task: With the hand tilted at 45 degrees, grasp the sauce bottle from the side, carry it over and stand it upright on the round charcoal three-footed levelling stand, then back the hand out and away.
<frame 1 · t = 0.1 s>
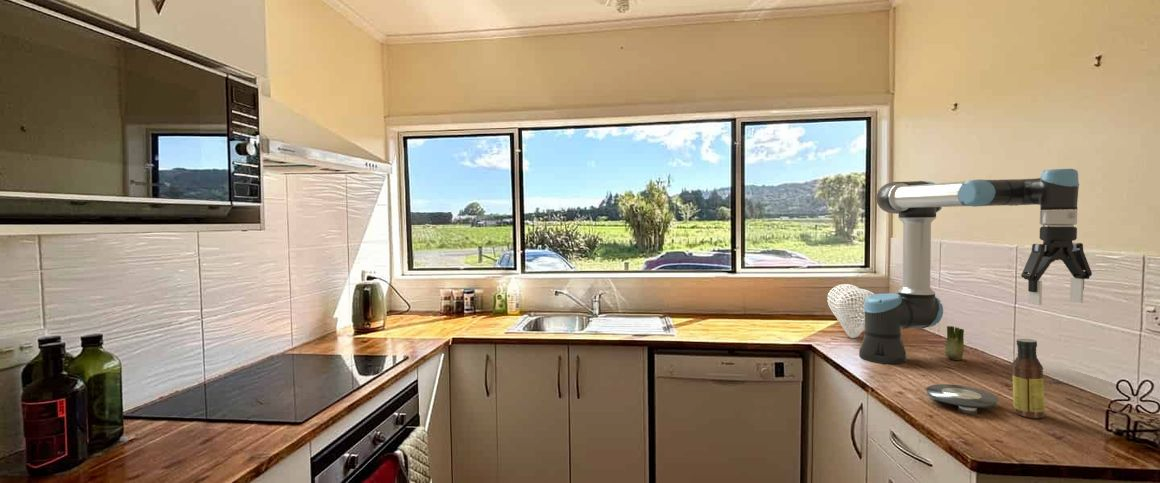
hand: (1055, 303, 142), 28 cm above the countertop, tool pointing down, fingers open, 13 cm apart
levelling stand: (961, 404, 144), on the countertop
fennel bulb: (953, 359, 187), on the countertop
heart: (852, 338, 222), on the countertop
sauce bottle: (1027, 415, 136), on the countertop
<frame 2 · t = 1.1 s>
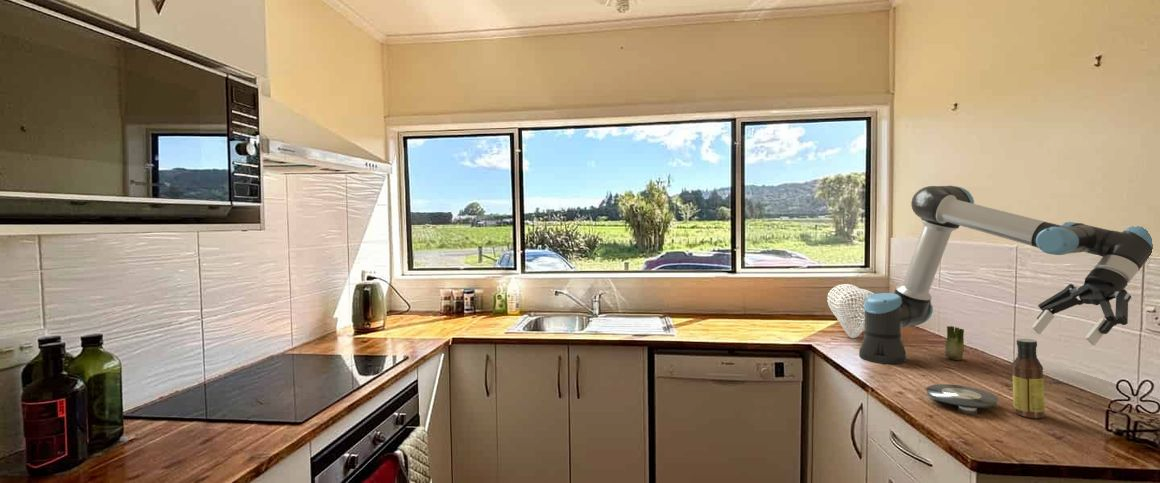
hand: (1061, 335, 136), 20 cm above the countertop, tool tilted 45°, fingers open, 13 cm apart
nothing on the countertop moved.
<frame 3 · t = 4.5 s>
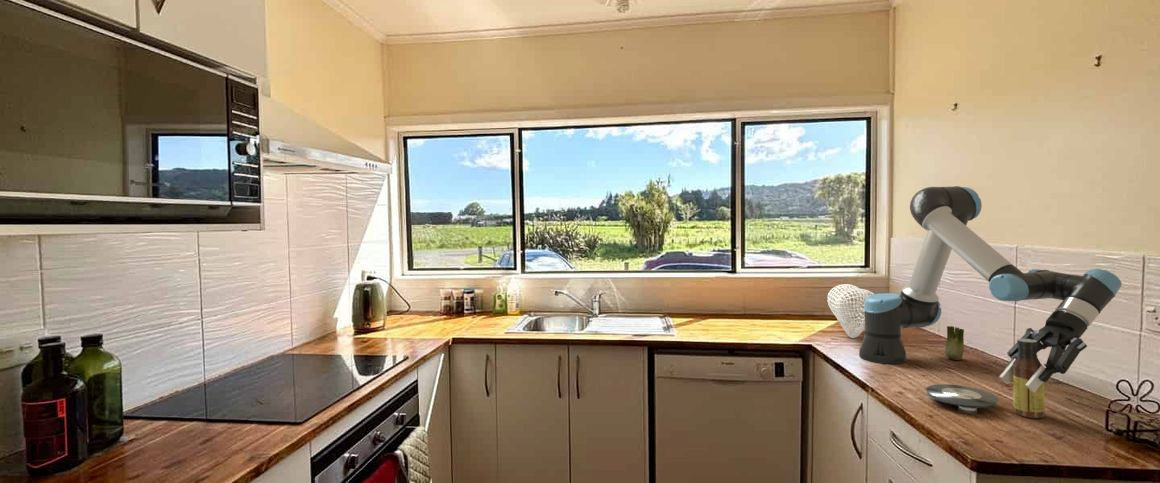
hand: (1016, 384, 135), 8 cm above the countertop, tool tilted 45°, fingers closed on sauce bottle, 6 cm apart
sauce bottle: (1027, 415, 136), on the countertop, touching gripper
everything else where it was.
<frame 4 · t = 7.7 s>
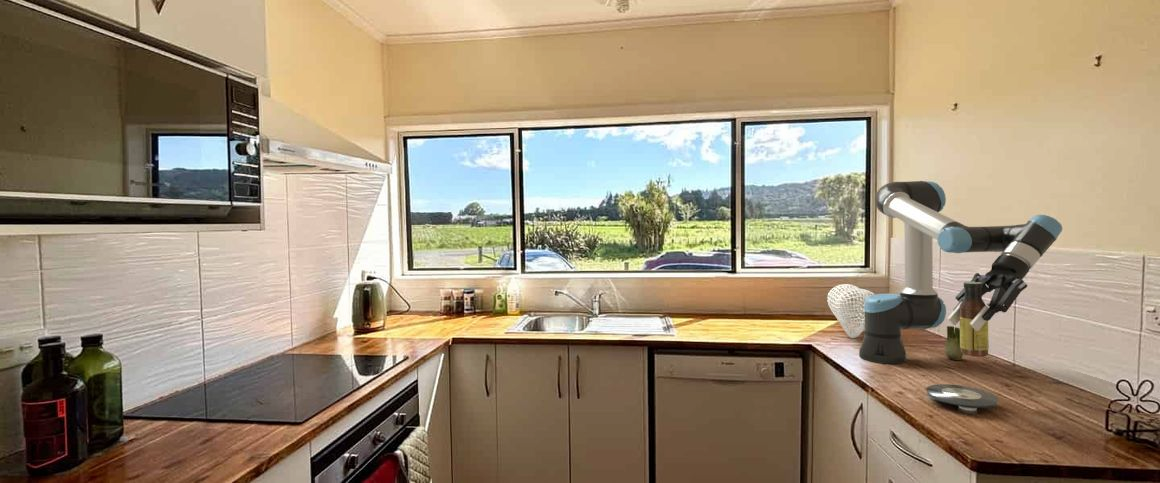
hand: (962, 324, 141), 23 cm above the countertop, tool tilted 45°, fingers closed on sauce bottle, 6 cm apart
sauce bottle: (973, 354, 142), point 14 cm above the countertop, touching gripper
everything else where it was.
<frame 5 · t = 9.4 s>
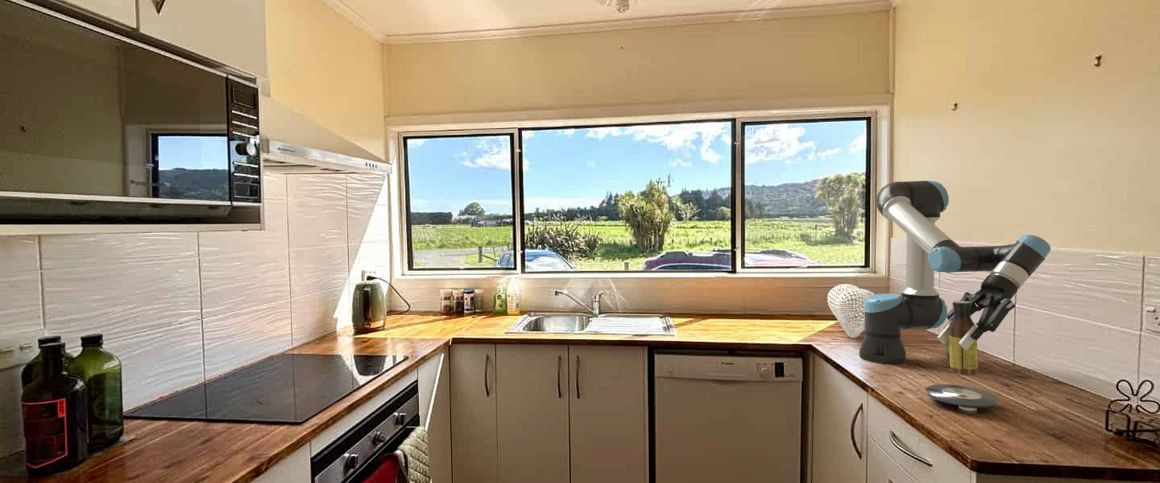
hand: (951, 343, 142), 17 cm above the countertop, tool tilted 45°, fingers closed on sauce bottle, 6 cm apart
sauce bottle: (962, 373, 143), point 9 cm above the countertop, touching gripper
everything else where it was.
when the fingers open (13 cm above the countertop, at t = 10.8 s): sauce bottle drops 1 cm, resting on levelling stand.
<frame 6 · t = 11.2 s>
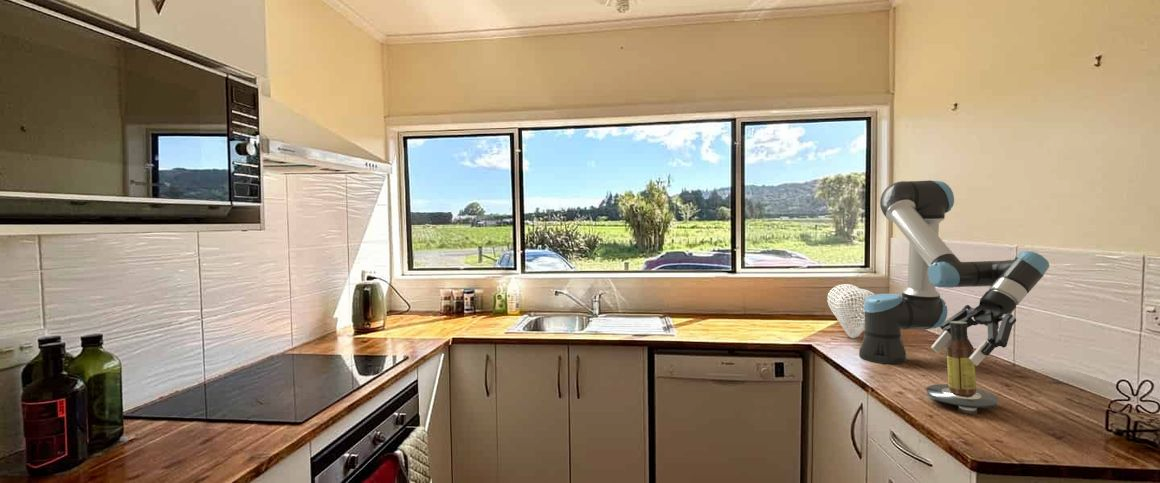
hand: (953, 356, 143), 14 cm above the countertop, tool tilted 45°, fingers open, 11 cm apart
sauce bottle: (961, 393, 144), point 3 cm above the countertop, touching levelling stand
everything else where it was.
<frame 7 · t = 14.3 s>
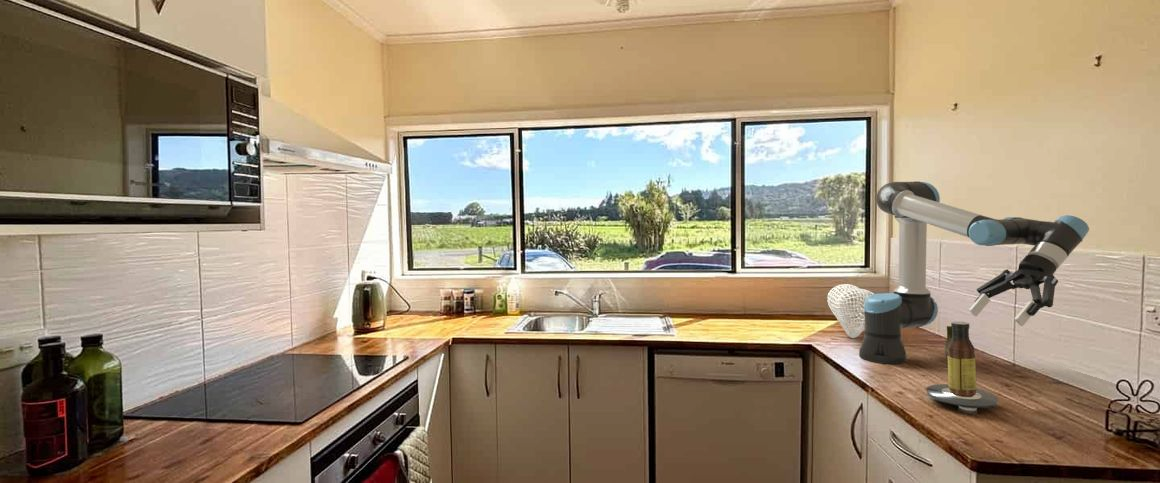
hand: (994, 317, 145), 24 cm above the countertop, tool tilted 45°, fingers open, 13 cm apart
nothing on the countertop moved.
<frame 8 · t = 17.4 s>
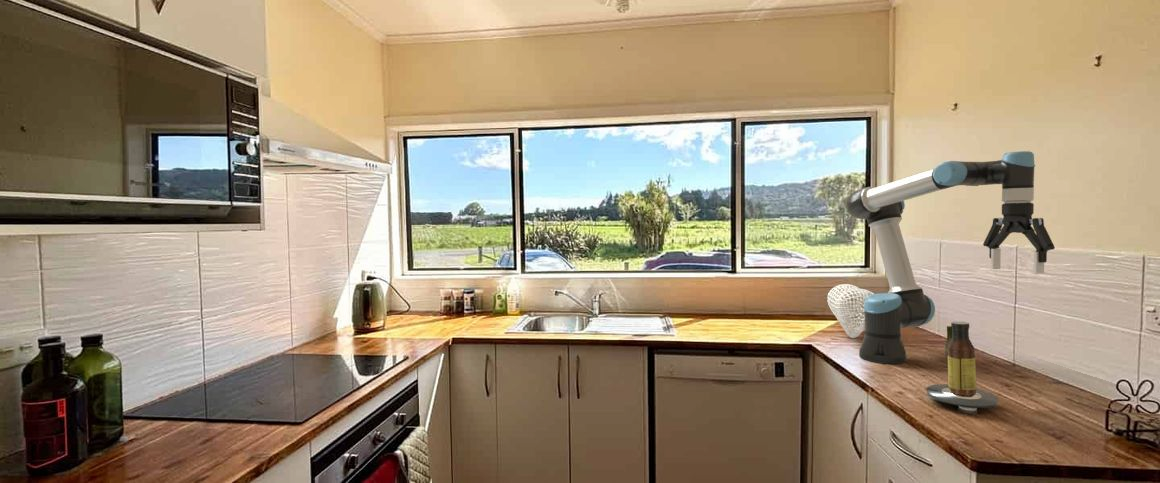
hand: (1016, 271, 160), 35 cm above the countertop, tool pointing down, fingers open, 13 cm apart
nothing on the countertop moved.
at the end: sauce bottle inside the target area on the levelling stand (0.1 cm from its centre), point 2.9 cm above the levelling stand's base; sauce bottle tilted 0°; the gripper is holding nothing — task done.
